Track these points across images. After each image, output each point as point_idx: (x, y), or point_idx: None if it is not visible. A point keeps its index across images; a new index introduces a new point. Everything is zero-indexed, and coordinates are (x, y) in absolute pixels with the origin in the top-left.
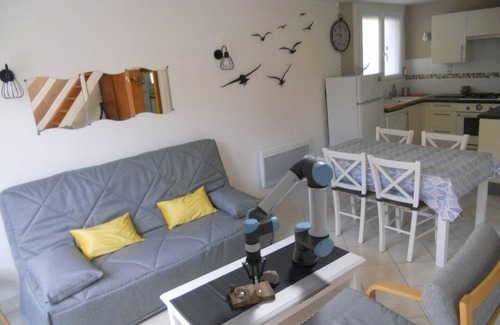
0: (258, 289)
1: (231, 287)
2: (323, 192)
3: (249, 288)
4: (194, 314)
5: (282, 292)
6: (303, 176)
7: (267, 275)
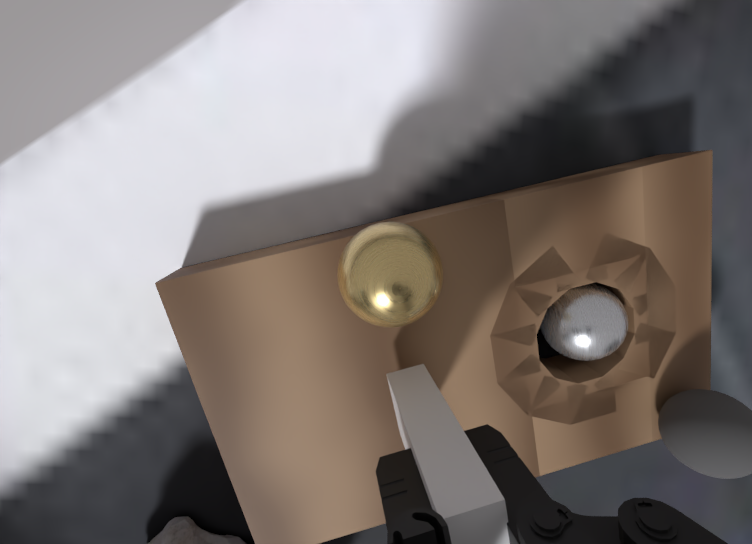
0: (392, 376)
1: (748, 413)
2: None
3: (491, 426)
4: None
5: (89, 373)
6: None
7: None
